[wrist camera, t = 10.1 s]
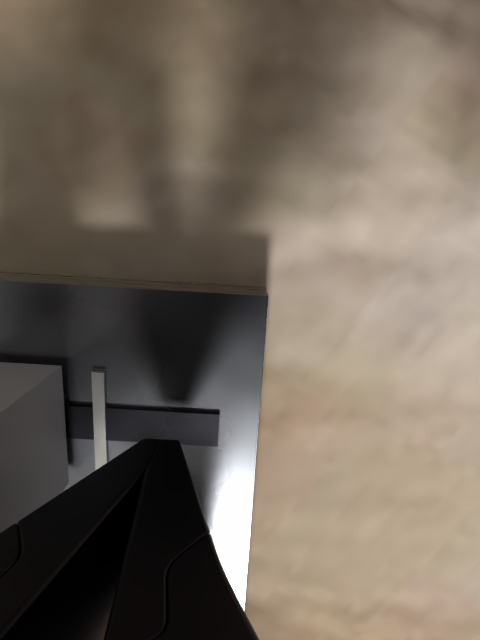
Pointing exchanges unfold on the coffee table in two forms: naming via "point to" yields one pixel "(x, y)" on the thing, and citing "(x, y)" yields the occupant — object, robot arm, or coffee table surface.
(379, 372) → the coffee table surface
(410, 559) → the coffee table surface
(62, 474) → the fader
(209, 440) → the board
